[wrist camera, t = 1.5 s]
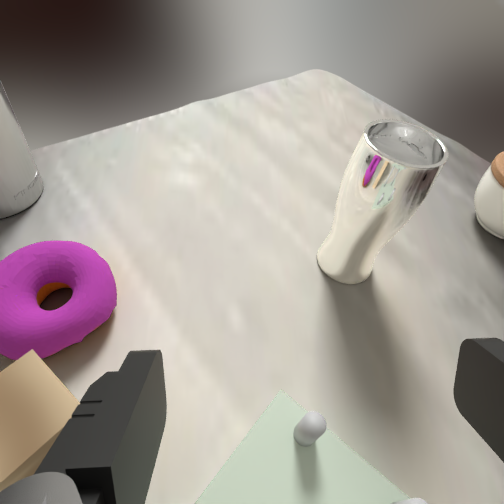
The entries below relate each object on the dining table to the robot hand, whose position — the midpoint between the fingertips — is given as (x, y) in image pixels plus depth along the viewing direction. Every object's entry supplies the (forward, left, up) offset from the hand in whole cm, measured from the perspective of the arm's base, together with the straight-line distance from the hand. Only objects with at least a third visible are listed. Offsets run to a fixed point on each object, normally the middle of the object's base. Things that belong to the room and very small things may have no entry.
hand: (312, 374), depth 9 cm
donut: (-18, +10, -20) cm, 29 cm away
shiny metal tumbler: (+8, +22, -20) cm, 30 cm away
